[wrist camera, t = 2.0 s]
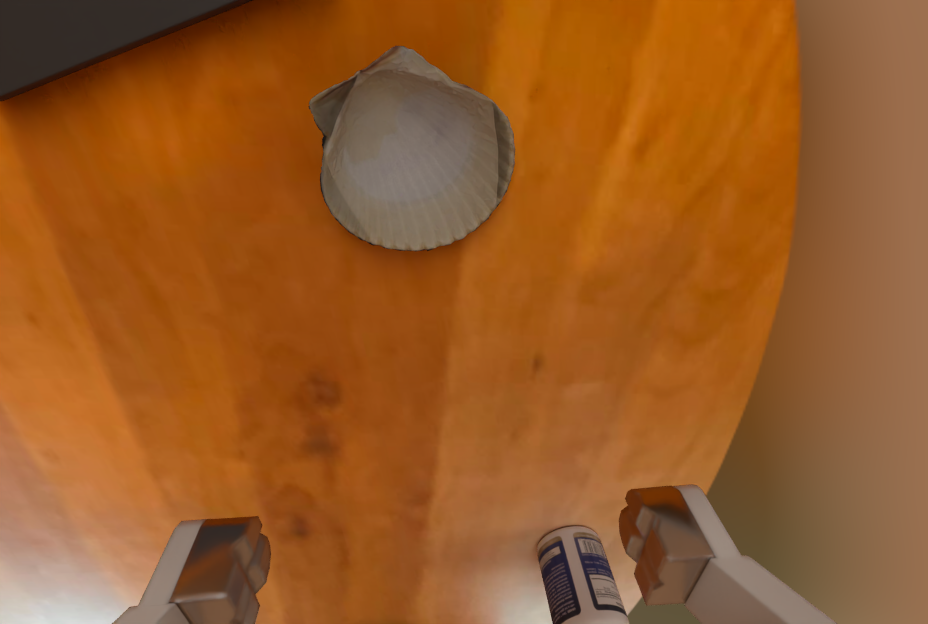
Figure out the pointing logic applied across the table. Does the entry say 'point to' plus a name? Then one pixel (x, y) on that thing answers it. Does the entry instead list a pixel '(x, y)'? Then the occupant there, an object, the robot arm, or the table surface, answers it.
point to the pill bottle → (579, 578)
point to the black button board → (84, 34)
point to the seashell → (411, 153)
